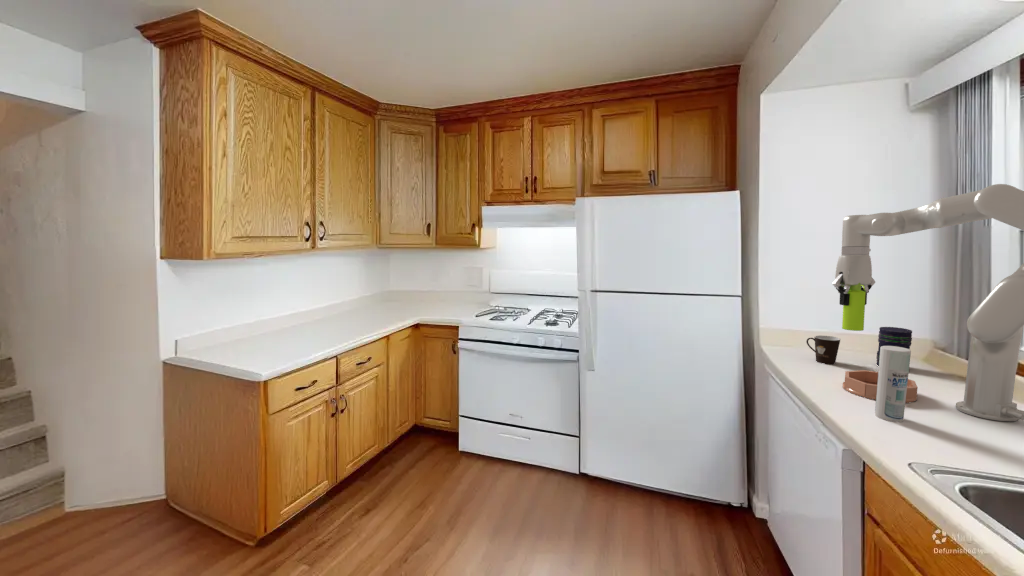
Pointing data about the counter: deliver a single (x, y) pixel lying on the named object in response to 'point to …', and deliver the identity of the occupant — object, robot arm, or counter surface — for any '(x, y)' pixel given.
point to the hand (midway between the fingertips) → (852, 304)
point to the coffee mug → (825, 348)
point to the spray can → (892, 383)
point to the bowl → (872, 385)
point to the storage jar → (894, 338)
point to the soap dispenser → (854, 309)
